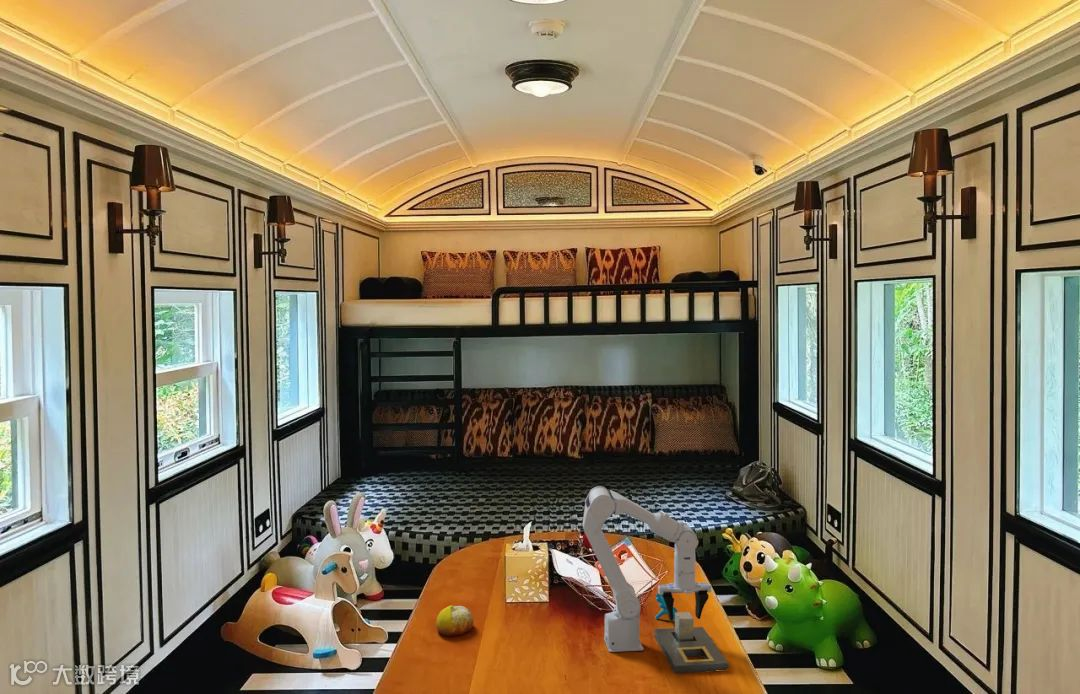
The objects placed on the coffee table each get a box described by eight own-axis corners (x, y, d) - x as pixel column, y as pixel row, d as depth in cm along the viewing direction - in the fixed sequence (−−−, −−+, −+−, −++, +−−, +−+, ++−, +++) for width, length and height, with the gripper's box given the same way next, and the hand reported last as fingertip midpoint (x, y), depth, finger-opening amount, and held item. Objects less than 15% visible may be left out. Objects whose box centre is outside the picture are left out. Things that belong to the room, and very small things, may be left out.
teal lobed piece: (680, 624, 201) (656, 596, 204) (665, 637, 202) (641, 608, 205) (684, 613, 212) (662, 586, 214) (670, 625, 213) (648, 598, 215)
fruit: (466, 640, 195) (458, 612, 195) (434, 645, 198) (426, 618, 198) (482, 621, 205) (474, 595, 206) (451, 626, 209) (443, 601, 209)
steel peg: (678, 647, 191) (679, 619, 190) (674, 640, 195) (675, 612, 194) (693, 646, 191) (693, 618, 191) (688, 639, 195) (689, 612, 195)
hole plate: (674, 673, 178) (674, 665, 177) (654, 636, 197) (654, 628, 197) (728, 670, 179) (728, 662, 179) (702, 633, 199) (702, 626, 199)
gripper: (662, 576, 187) (662, 626, 188) (715, 574, 189) (714, 623, 189) (655, 566, 194) (655, 614, 195) (706, 564, 196) (706, 611, 196)
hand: (684, 618), depth 193 cm, fingers open, 7 cm apart
